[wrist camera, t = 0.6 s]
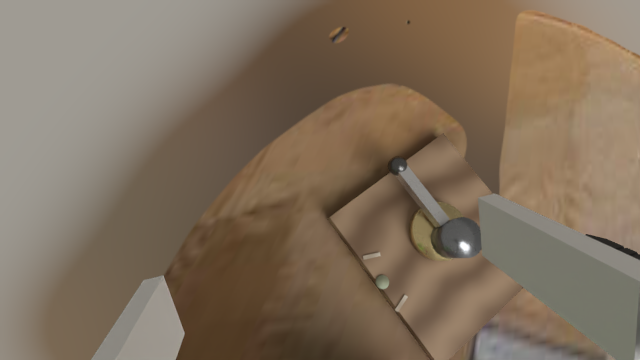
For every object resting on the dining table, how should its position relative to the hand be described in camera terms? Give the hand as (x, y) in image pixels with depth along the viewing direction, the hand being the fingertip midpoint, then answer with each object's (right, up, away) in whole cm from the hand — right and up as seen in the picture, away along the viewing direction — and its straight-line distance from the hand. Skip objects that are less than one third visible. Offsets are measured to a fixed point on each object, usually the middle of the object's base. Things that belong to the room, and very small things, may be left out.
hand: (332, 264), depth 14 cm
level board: (+16, -6, +36) cm, 40 cm away
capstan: (+13, -1, +35) cm, 37 cm away
